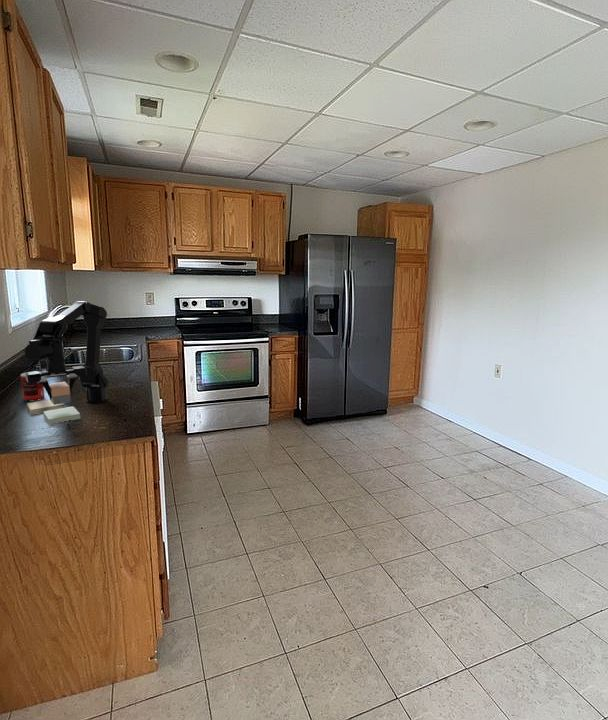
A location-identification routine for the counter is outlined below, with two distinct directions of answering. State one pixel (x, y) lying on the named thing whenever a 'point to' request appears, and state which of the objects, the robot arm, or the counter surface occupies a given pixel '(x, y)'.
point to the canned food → (31, 389)
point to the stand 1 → (43, 406)
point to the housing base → (60, 399)
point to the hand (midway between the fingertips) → (59, 396)
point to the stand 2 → (61, 415)
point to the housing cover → (59, 389)
